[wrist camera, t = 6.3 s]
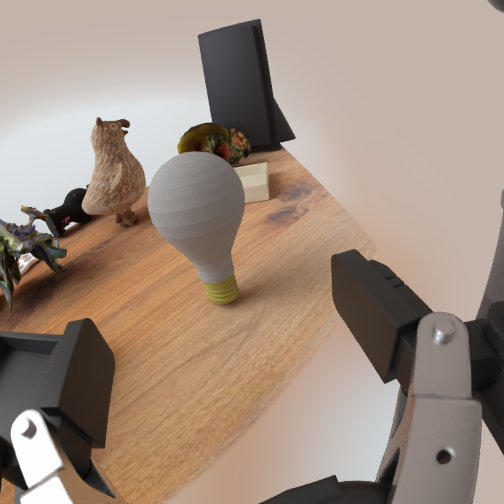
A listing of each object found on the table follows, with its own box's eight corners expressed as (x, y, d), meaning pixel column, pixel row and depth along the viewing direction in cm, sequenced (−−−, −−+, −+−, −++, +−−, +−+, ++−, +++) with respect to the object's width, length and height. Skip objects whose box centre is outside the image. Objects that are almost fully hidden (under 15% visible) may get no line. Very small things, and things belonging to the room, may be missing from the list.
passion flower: (77, 309, 31) (88, 227, 26) (15, 357, 22) (-1, 271, 16) (27, 260, 32) (31, 181, 27) (-32, 294, 22) (-45, 207, 17)
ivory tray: (268, 174, 45) (266, 162, 44) (269, 199, 35) (266, 183, 34) (198, 186, 46) (195, 175, 45) (180, 214, 36) (176, 200, 35)
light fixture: (301, 138, 75) (286, 34, 61) (283, 151, 58) (262, 15, 45) (242, 144, 81) (226, 46, 68) (209, 158, 64) (188, 35, 51)
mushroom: (255, 192, 59) (231, 146, 65) (257, 145, 48) (229, 101, 54) (195, 210, 56) (179, 160, 63) (185, 164, 45) (169, 116, 52)
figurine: (167, 215, 37) (136, 103, 30) (99, 248, 33) (59, 130, 25) (145, 204, 44) (119, 113, 37) (90, 230, 39) (58, 135, 32)
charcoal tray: (101, 356, 17) (86, 335, 16) (46, 491, 8) (20, 475, 7) (12, 348, 18) (-1, 330, 17) (-38, 435, 9) (-56, 419, 8)
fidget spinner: (53, 248, 36) (51, 244, 35) (30, 275, 30) (27, 270, 30) (27, 256, 37) (25, 252, 36) (5, 281, 31) (2, 276, 31)
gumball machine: (54, 223, 36) (104, 192, 43) (37, 199, 36) (85, 172, 43) (59, 248, 41) (103, 218, 48) (42, 226, 41) (85, 198, 48)
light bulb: (213, 273, 23) (178, 147, 18) (277, 282, 21) (251, 136, 16) (171, 318, 19) (115, 175, 14) (241, 337, 17) (192, 163, 12)
